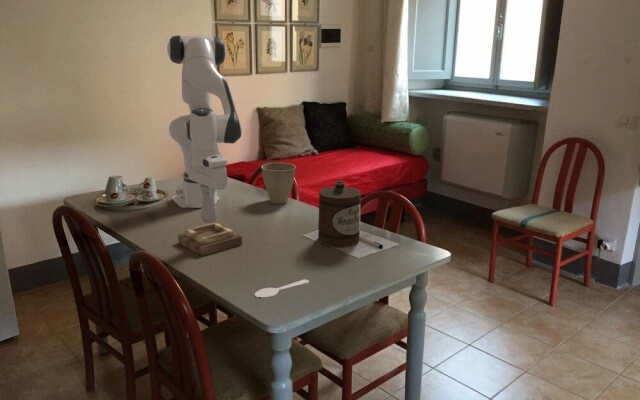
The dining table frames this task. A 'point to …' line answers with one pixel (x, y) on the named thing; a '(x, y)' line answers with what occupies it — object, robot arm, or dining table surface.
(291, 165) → the plant pot
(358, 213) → the wooden container
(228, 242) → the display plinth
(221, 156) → the robot arm
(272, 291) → the spoon
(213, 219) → the salt shaker
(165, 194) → the dining table surface
